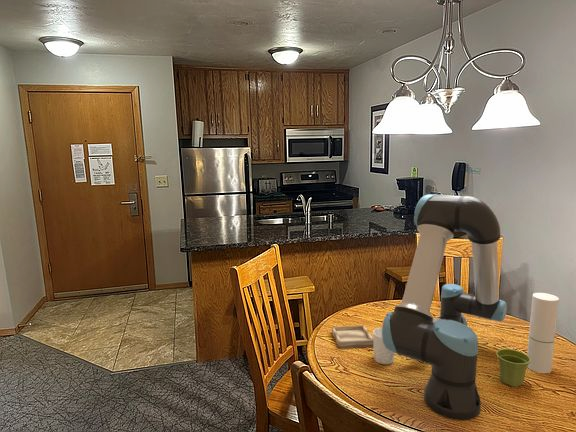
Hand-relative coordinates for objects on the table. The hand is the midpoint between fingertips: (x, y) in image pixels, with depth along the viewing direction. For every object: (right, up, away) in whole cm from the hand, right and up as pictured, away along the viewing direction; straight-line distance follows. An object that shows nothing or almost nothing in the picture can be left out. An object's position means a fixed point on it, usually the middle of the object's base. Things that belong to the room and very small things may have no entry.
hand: (385, 342), depth 139 cm
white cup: (-1, -6, 0) cm, 6 cm away
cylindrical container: (+49, -7, -7) cm, 50 cm away
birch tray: (-9, -4, +15) cm, 18 cm away
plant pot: (+36, -8, -14) cm, 40 cm away
